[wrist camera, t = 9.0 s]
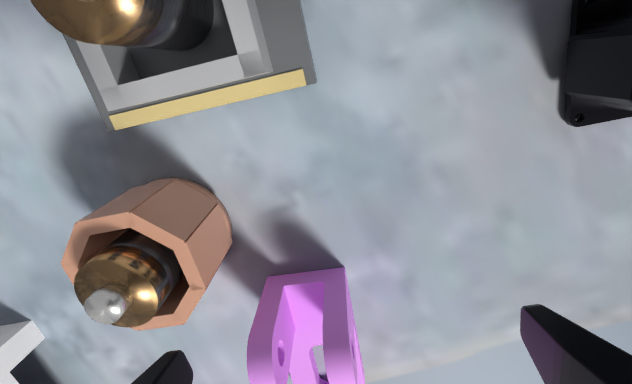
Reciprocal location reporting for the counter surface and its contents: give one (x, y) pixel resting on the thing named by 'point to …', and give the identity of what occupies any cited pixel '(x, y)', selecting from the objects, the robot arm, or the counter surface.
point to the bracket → (304, 330)
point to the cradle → (201, 65)
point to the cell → (132, 21)
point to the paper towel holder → (16, 346)
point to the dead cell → (127, 280)
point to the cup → (161, 237)
